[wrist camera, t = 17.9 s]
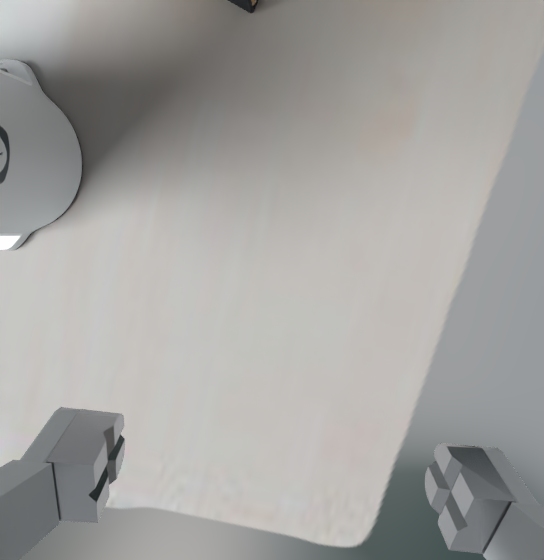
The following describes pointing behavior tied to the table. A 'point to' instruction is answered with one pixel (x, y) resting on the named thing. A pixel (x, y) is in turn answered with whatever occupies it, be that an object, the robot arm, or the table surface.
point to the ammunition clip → (246, 4)
